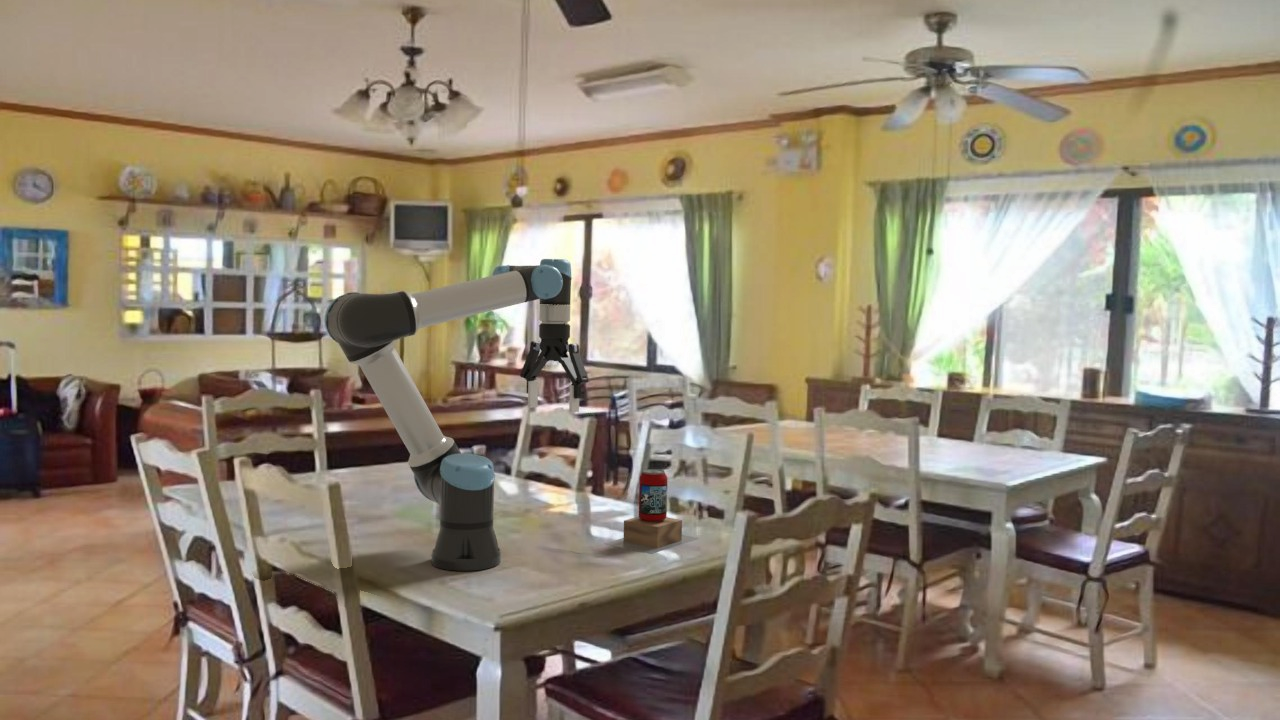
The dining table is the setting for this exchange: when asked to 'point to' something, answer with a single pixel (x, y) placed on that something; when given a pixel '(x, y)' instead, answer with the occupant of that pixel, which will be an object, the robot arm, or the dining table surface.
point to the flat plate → (648, 549)
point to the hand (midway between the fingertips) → (553, 409)
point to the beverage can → (653, 495)
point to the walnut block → (653, 532)
